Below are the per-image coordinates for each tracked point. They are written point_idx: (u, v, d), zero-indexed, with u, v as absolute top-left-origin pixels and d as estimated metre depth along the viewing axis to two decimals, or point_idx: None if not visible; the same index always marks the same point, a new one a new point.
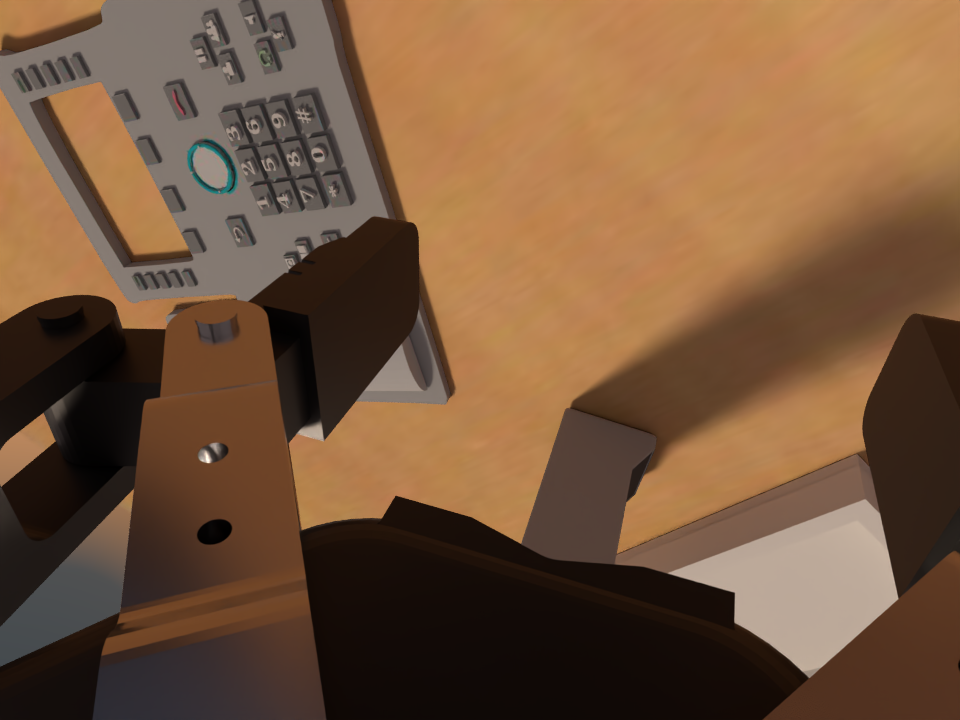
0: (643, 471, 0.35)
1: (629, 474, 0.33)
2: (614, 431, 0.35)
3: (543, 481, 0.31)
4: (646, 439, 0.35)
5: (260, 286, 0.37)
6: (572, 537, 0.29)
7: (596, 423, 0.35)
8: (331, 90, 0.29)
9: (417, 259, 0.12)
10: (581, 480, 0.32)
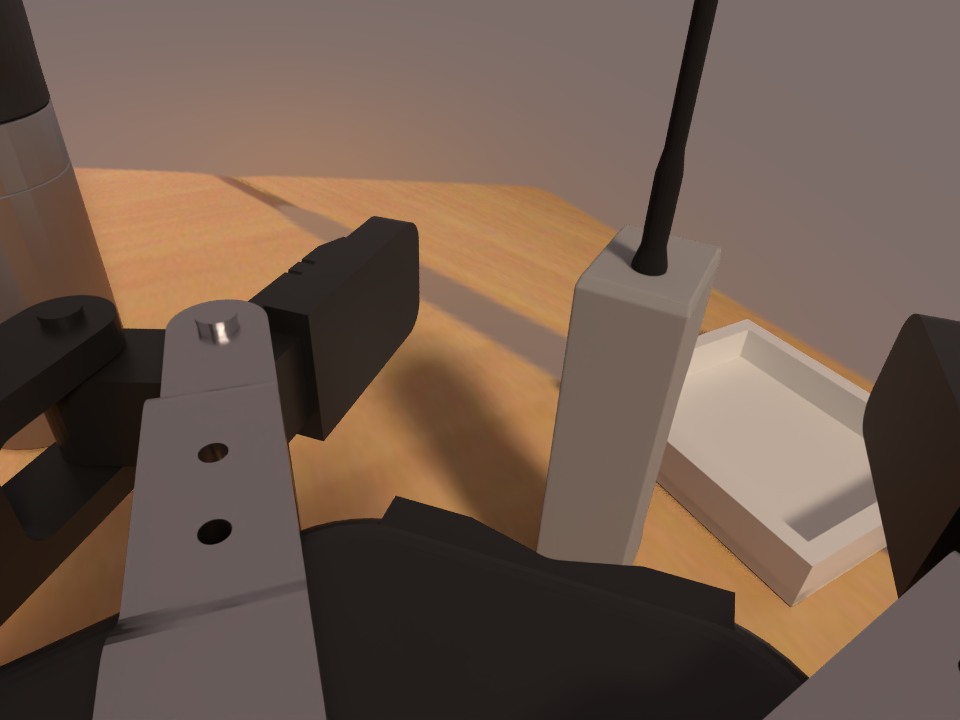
0: None
1: None
2: None
3: None
4: None
5: None
6: None
7: None
8: None
9: (417, 259, 0.12)
10: None
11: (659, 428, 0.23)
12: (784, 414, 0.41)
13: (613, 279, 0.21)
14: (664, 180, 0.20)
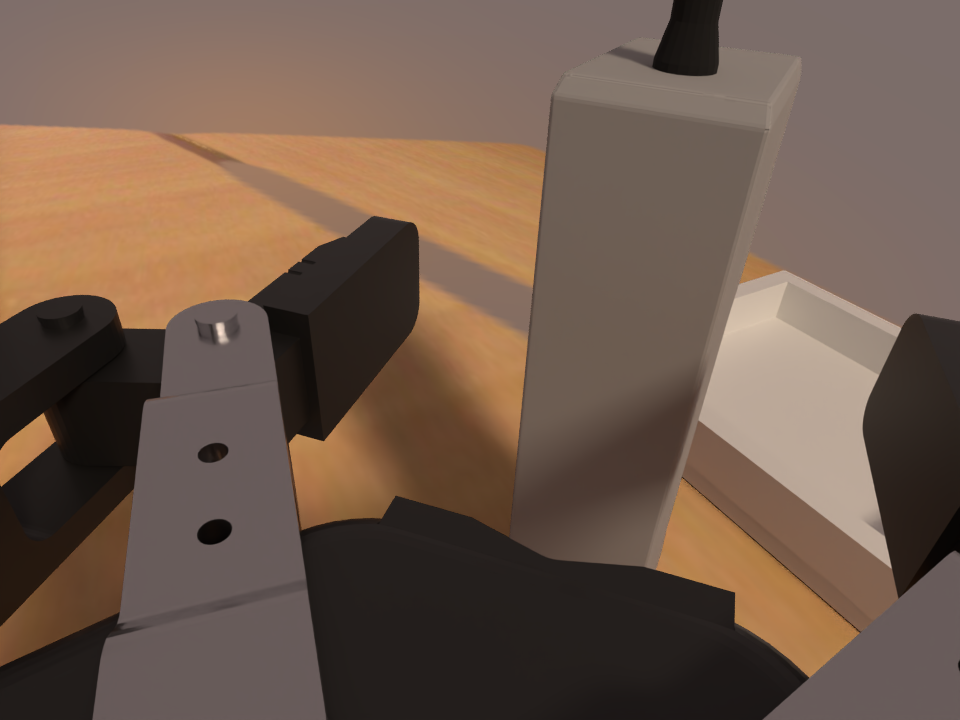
0: None
1: None
2: None
3: (512, 506, 0.18)
4: None
5: None
6: None
7: None
8: None
9: (417, 259, 0.12)
10: None
11: (704, 361, 0.13)
12: (841, 385, 0.32)
13: (621, 77, 0.12)
14: None
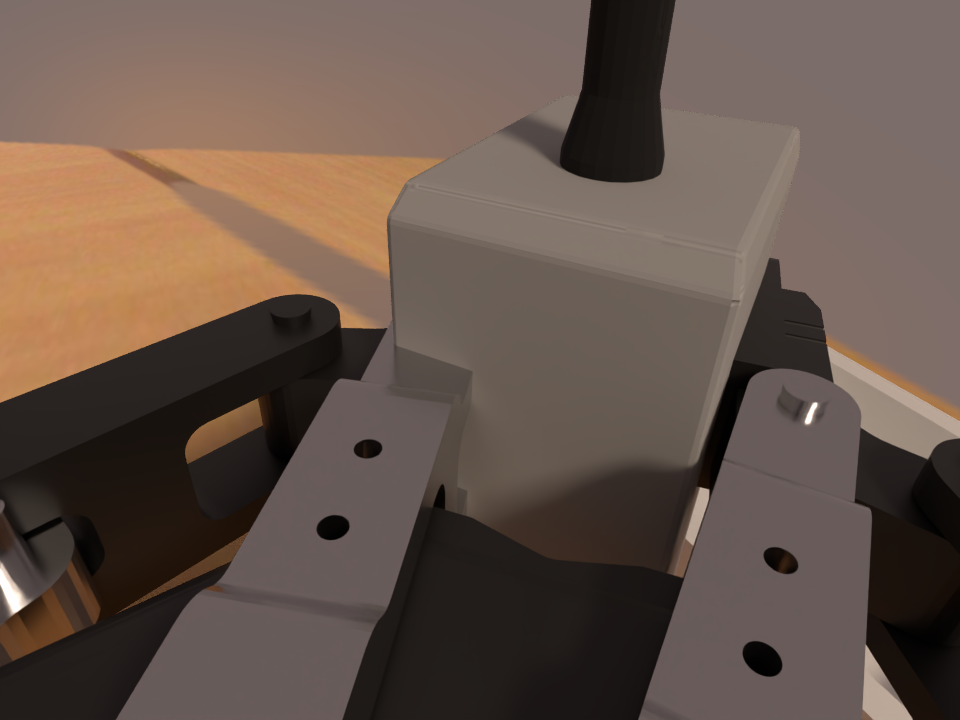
0: None
1: None
2: None
3: None
4: None
5: None
6: None
7: None
8: None
9: None
10: None
11: None
12: None
13: (497, 189, 0.07)
14: None
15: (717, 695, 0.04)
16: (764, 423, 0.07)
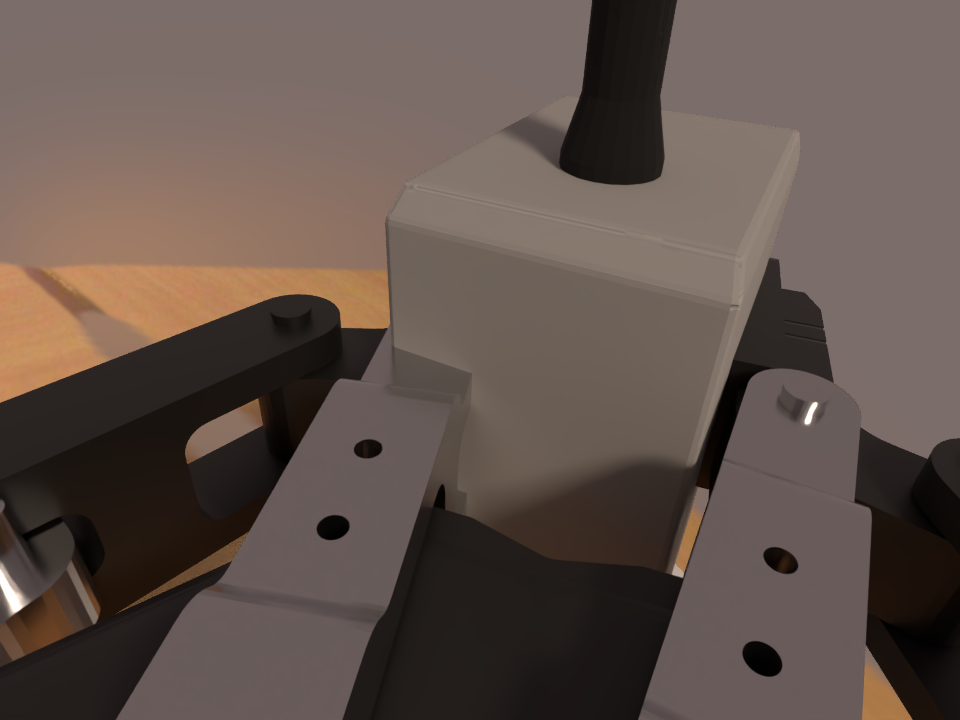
0: None
1: None
2: None
3: None
4: None
5: None
6: None
7: None
8: None
9: None
10: None
11: None
12: None
13: (496, 191, 0.07)
14: None
15: (717, 695, 0.04)
16: (764, 423, 0.07)
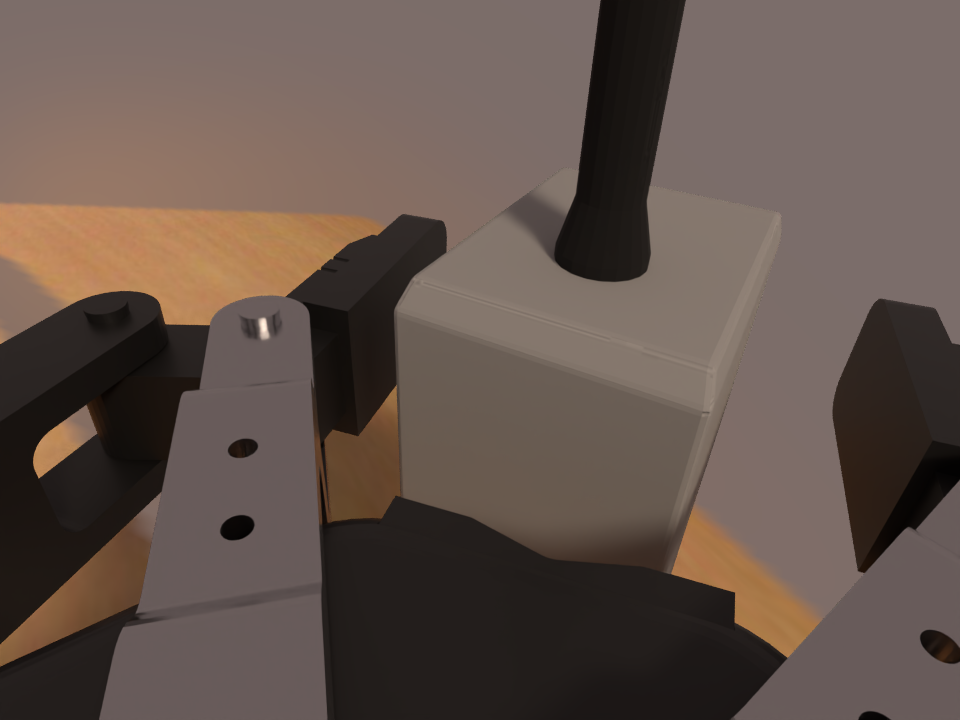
0: None
1: None
2: None
3: None
4: None
5: None
6: None
7: None
8: None
9: None
10: None
11: None
12: None
13: (494, 289, 0.08)
14: None
15: None
16: None
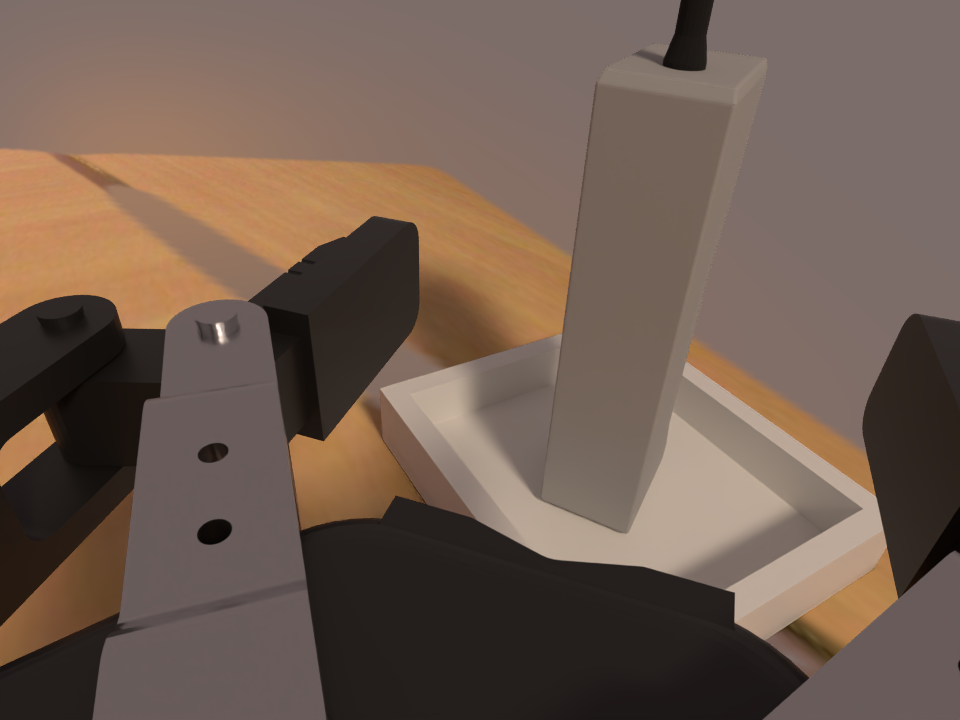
0: None
1: None
2: None
3: (555, 389, 0.24)
4: None
5: None
6: None
7: None
8: None
9: (417, 259, 0.12)
10: None
11: (695, 264, 0.19)
12: None
13: (642, 71, 0.18)
14: None
15: None
16: None
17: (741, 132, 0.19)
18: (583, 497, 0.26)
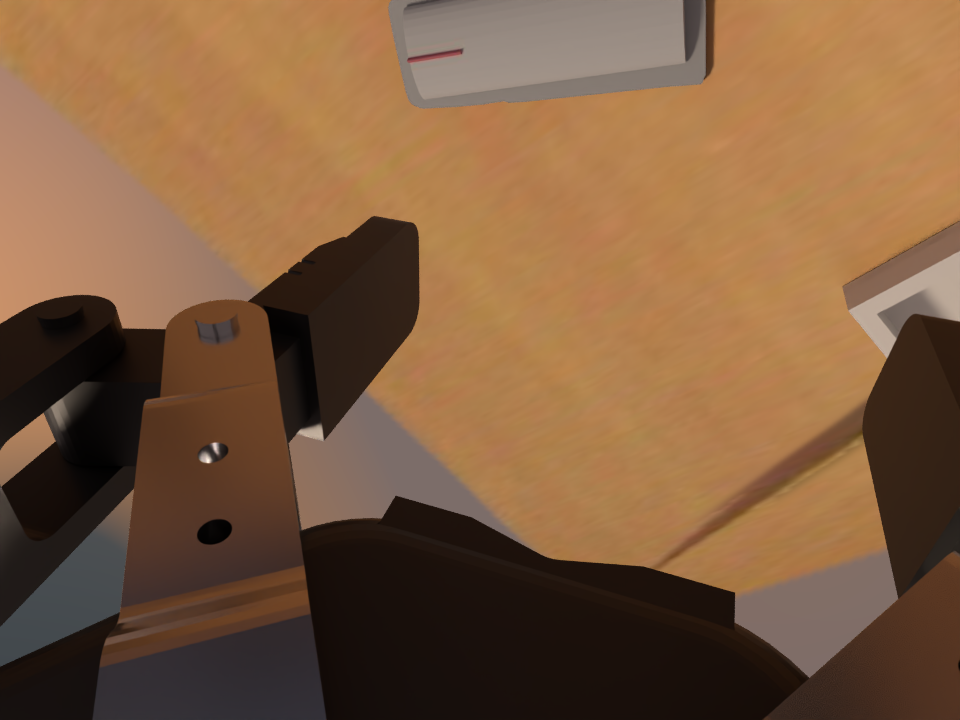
0: None
1: None
2: None
3: None
4: None
5: None
6: None
7: None
8: None
9: (417, 259, 0.12)
10: None
11: None
12: None
13: None
14: None
15: None
16: None
17: None
18: None
